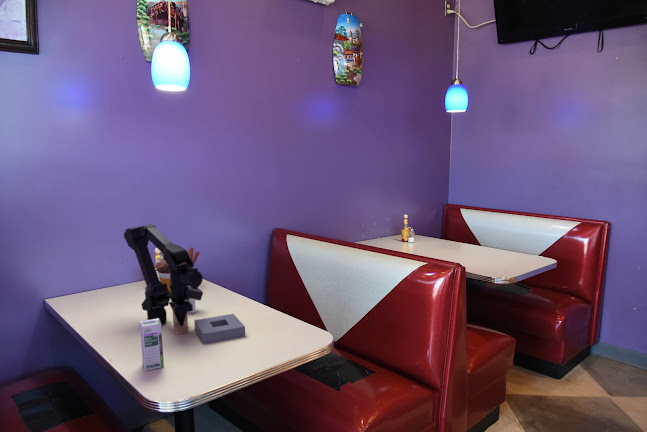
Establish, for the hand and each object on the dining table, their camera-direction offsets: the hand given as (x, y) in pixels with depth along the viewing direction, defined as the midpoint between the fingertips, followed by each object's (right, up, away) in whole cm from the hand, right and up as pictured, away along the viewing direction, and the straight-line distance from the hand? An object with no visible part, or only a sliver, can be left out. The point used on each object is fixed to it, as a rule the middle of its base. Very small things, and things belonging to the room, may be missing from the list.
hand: (180, 323), depth 178 cm
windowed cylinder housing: (-2, 0, +22) cm, 22 cm away
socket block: (+15, -3, -1) cm, 15 cm away
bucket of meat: (-17, +4, +51) cm, 54 cm away
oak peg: (0, -3, +1) cm, 3 cm away
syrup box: (0, -7, -27) cm, 28 cm away
